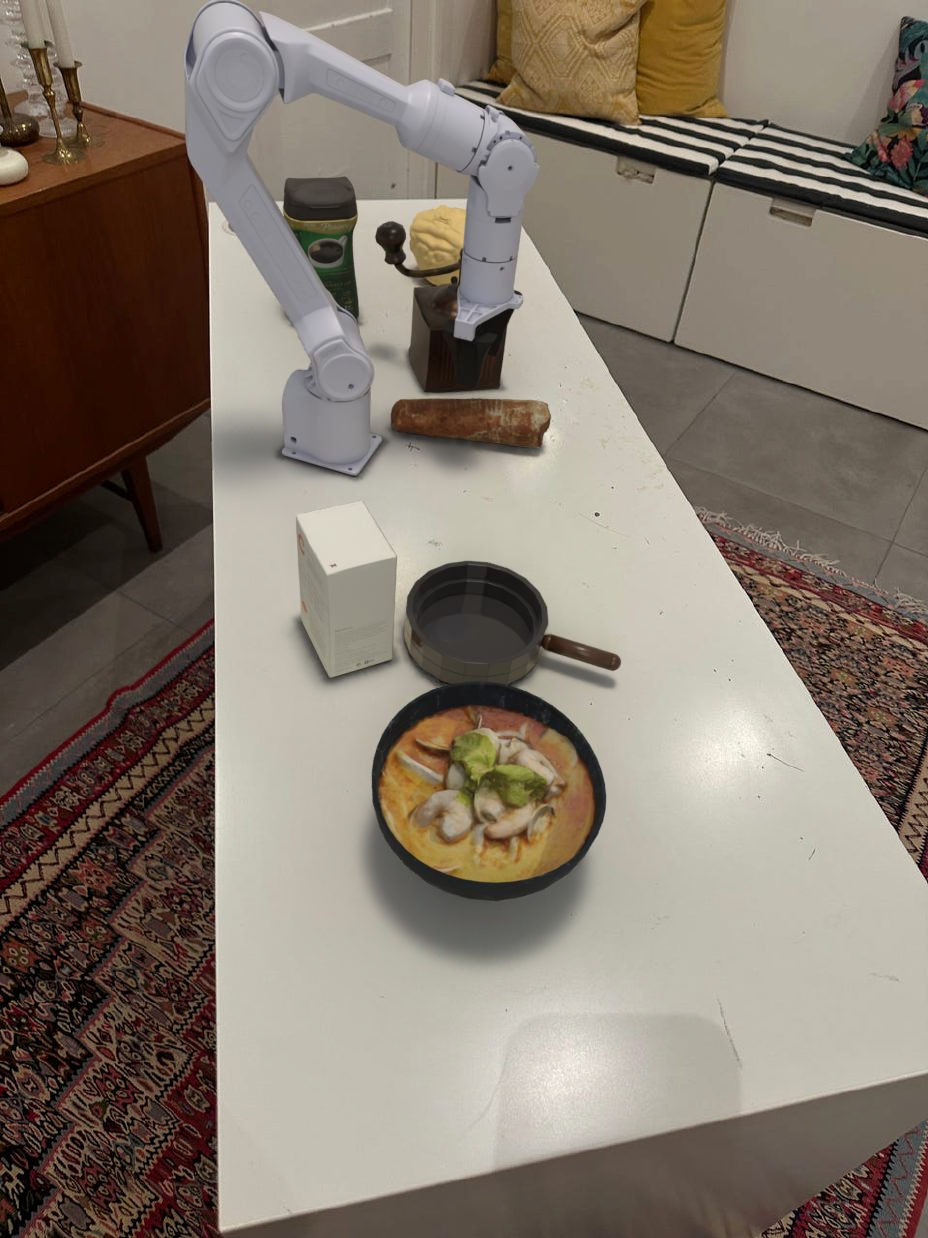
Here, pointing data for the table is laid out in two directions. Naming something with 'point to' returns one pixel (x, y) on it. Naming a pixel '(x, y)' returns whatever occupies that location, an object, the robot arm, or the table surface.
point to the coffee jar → (326, 232)
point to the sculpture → (438, 240)
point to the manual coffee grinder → (434, 321)
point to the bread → (474, 419)
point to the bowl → (487, 790)
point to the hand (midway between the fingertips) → (478, 368)
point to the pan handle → (581, 652)
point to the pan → (475, 623)
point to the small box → (346, 587)
